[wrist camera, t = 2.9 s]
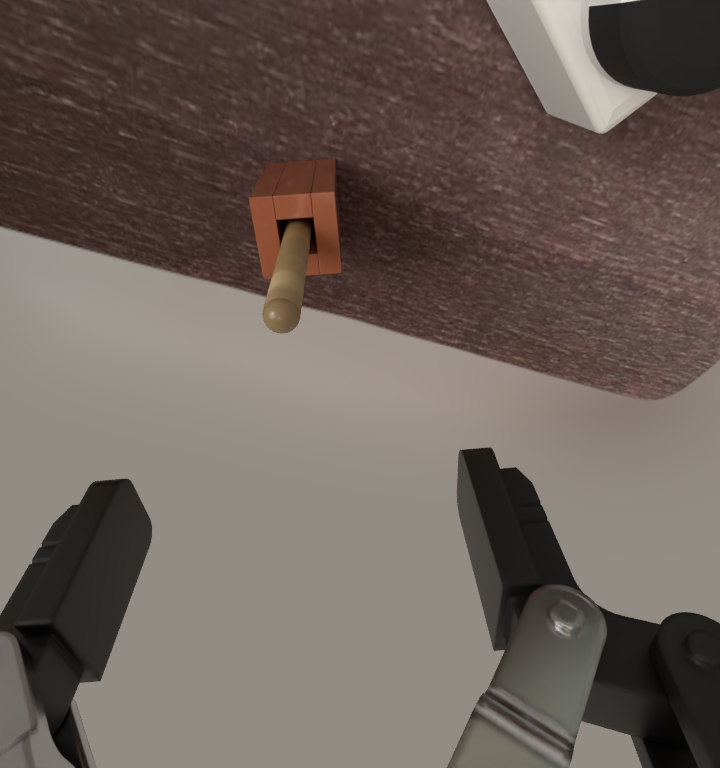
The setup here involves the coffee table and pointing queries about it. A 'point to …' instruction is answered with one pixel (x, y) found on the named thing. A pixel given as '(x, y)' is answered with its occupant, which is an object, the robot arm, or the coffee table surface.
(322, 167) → the utensil block
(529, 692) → the robot arm
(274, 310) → the cooking stick
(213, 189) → the coffee table surface
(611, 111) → the container
